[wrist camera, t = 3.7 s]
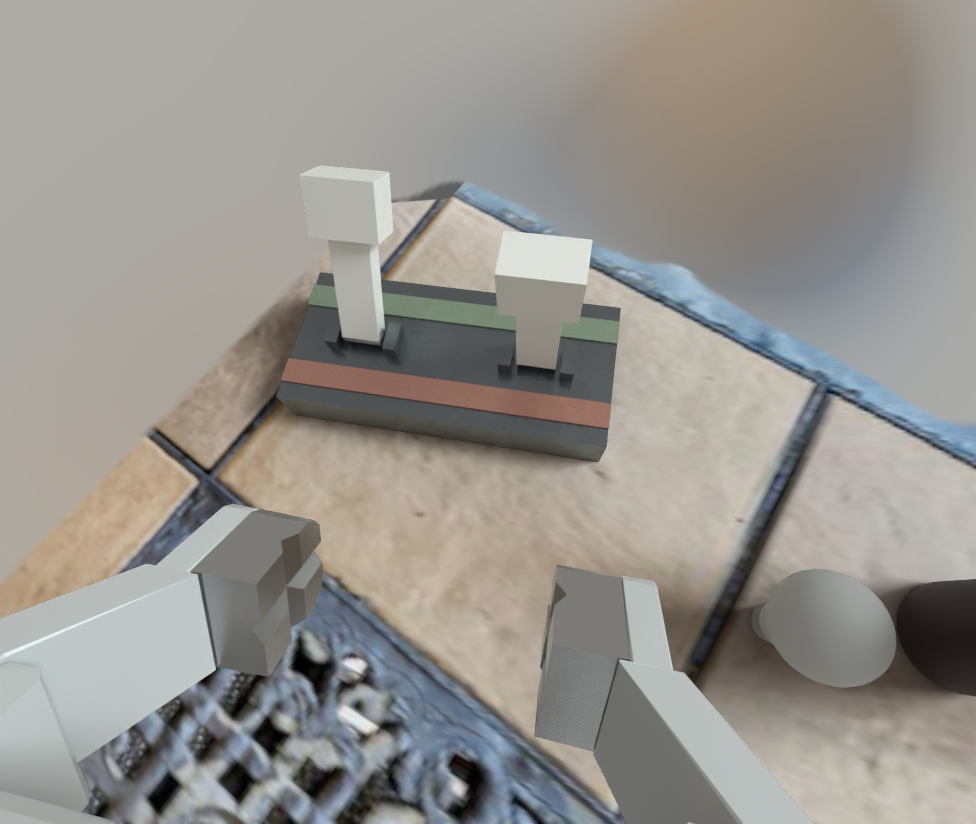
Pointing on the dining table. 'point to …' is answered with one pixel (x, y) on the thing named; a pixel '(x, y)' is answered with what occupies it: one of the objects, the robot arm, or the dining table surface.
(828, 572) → the lightbulb
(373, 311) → the on lever
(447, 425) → the breaker box
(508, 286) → the lever
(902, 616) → the wine bottle
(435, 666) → the dining table surface
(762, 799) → the robot arm
